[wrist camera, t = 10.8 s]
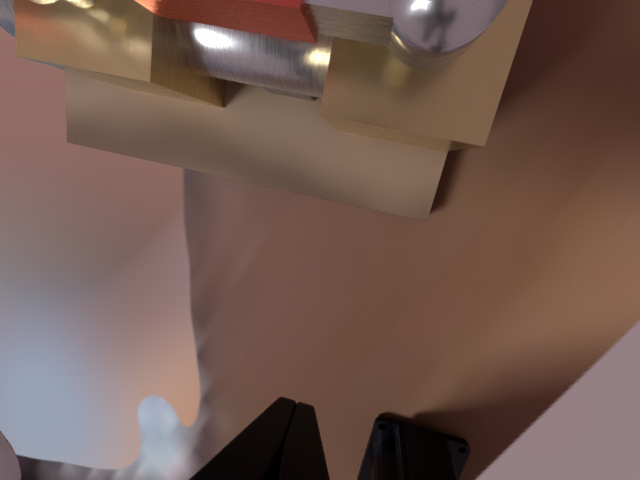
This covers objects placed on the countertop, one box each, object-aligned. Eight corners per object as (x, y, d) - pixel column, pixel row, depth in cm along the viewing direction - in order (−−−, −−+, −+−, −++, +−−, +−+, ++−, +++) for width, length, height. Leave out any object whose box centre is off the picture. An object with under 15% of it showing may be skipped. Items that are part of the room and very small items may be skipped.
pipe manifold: (443, 151, 16) (541, 139, 7) (50, 73, 18) (-274, -14, 9) (479, 28, 14) (669, -200, 5) (45, -40, 17) (-349, -284, 8)
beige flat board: (422, 216, 18) (427, 221, 17) (88, 143, 21) (67, 142, 19) (499, -46, 15) (513, -68, 13) (86, -101, 17) (60, -125, 16)
